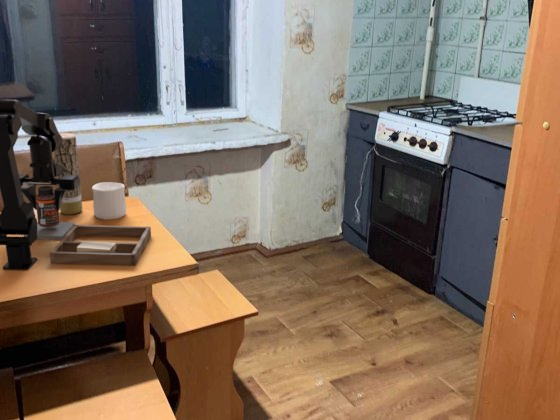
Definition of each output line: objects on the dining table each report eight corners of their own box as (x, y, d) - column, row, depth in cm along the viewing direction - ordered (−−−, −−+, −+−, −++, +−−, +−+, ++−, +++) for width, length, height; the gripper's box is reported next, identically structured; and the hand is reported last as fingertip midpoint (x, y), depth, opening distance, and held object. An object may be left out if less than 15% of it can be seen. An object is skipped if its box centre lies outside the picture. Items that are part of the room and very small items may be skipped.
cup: (91, 212, 191) (89, 183, 188) (123, 208, 195) (121, 180, 192) (96, 221, 183) (93, 192, 180) (129, 217, 187) (127, 188, 184)
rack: (135, 265, 155) (134, 255, 154) (50, 263, 155) (49, 253, 154) (151, 236, 174) (150, 226, 172) (75, 234, 173) (74, 224, 172)
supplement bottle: (45, 229, 170) (41, 192, 166) (34, 224, 173) (29, 187, 169) (64, 224, 174) (60, 187, 171) (52, 219, 178) (48, 183, 174)
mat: (62, 239, 170) (62, 236, 169) (23, 238, 169) (23, 235, 169) (74, 225, 180) (74, 222, 180) (38, 224, 180) (38, 221, 179)
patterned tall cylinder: (75, 216, 187) (68, 138, 179) (56, 214, 189) (47, 137, 180) (86, 209, 194) (79, 133, 185) (67, 207, 195) (59, 132, 186)
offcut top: (110, 255, 155) (109, 249, 155) (77, 252, 156) (76, 247, 156) (116, 248, 160) (115, 243, 159) (84, 245, 160) (83, 240, 160)
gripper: (83, 151, 175) (88, 201, 180) (20, 150, 174) (26, 200, 180) (71, 161, 164) (76, 214, 169) (3, 159, 164) (10, 212, 169)
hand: (47, 209), depth 172 cm, fingers closed on supplement bottle, 6 cm apart
